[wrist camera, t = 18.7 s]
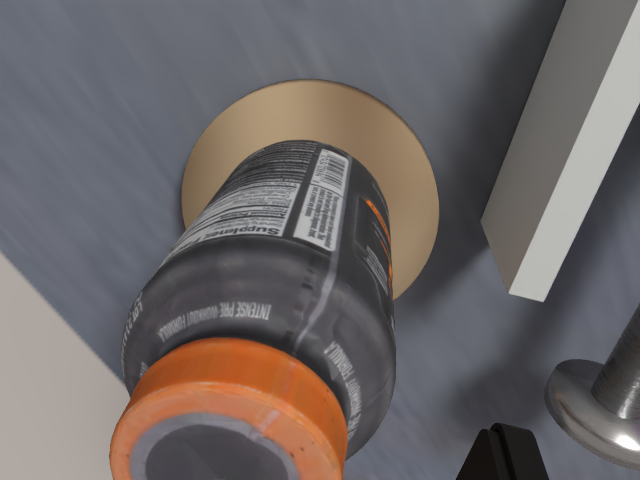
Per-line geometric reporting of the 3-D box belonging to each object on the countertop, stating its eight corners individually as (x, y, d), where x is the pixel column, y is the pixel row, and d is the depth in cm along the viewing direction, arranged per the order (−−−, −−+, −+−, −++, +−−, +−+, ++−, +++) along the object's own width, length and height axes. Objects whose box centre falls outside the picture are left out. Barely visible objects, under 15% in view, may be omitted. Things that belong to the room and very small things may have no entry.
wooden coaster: (178, 279, 22) (169, 292, 21) (207, 49, 18) (197, 53, 17) (396, 334, 22) (396, 349, 21) (472, 115, 18) (477, 123, 17)
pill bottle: (375, 304, 20) (368, 627, 10) (217, 279, 21) (59, 572, 10) (405, 148, 18) (436, 376, 8) (224, 122, 18) (23, 309, 8)
